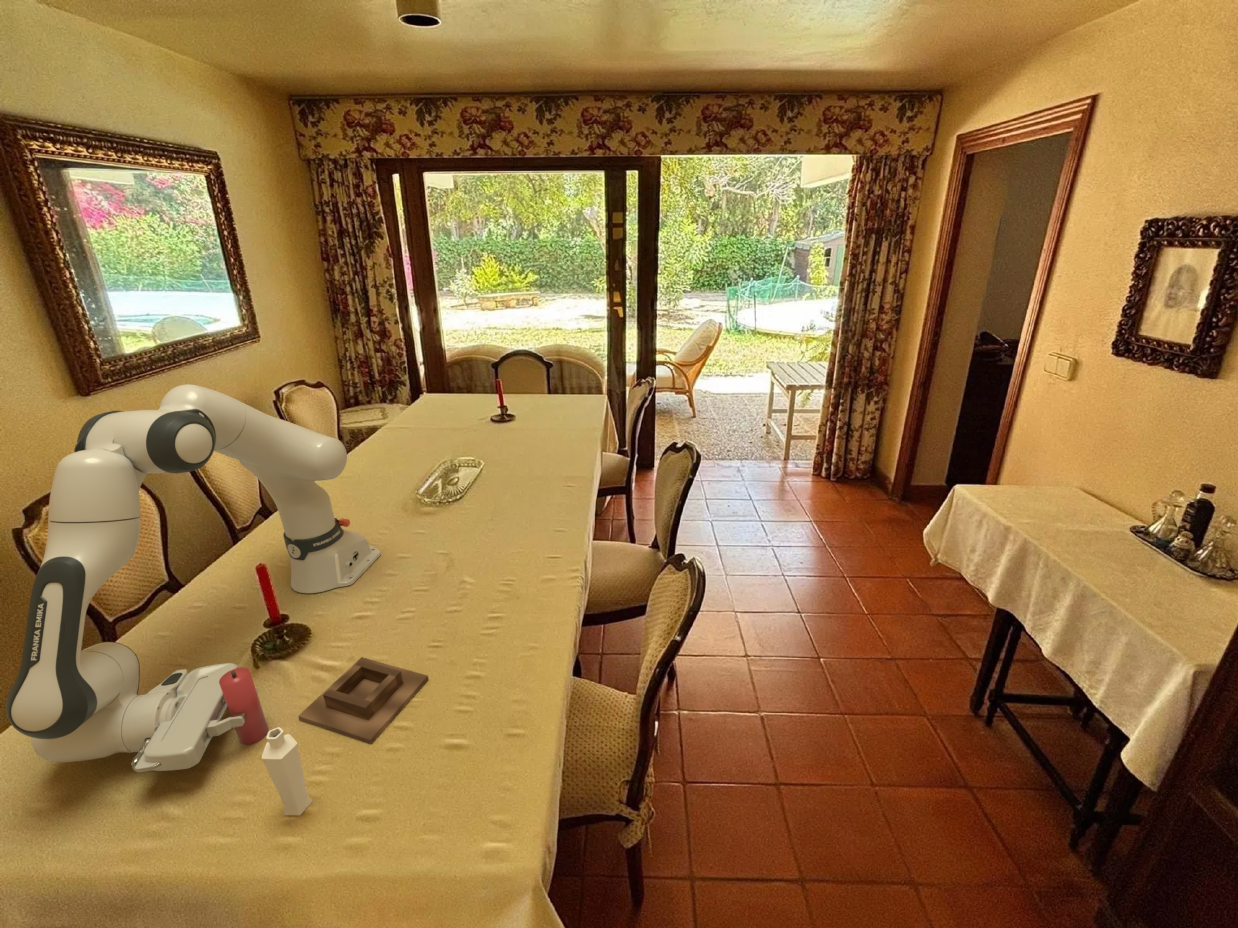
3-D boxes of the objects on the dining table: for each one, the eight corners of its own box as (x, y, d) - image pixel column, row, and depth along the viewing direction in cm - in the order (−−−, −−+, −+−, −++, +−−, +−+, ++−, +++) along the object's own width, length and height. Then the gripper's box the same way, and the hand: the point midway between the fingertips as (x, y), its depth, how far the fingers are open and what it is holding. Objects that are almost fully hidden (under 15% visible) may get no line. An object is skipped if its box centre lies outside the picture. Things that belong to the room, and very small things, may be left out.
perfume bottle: (274, 807, 89) (250, 735, 83) (303, 787, 92) (281, 716, 86) (288, 825, 86) (264, 752, 80) (318, 803, 89) (296, 732, 83)
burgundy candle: (255, 721, 104) (235, 660, 98) (274, 727, 103) (254, 666, 97) (233, 740, 100) (210, 678, 95) (252, 747, 99) (230, 684, 93)
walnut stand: (362, 660, 118) (359, 645, 116) (428, 679, 113) (425, 663, 112) (299, 719, 104) (294, 703, 103) (371, 744, 99) (367, 726, 98)
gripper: (117, 758, 86) (221, 740, 88) (180, 663, 104) (265, 651, 107) (131, 788, 88) (232, 770, 91) (191, 689, 106) (273, 677, 109)
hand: (250, 705), depth 99 cm, fingers closed on burgundy candle, 4 cm apart
